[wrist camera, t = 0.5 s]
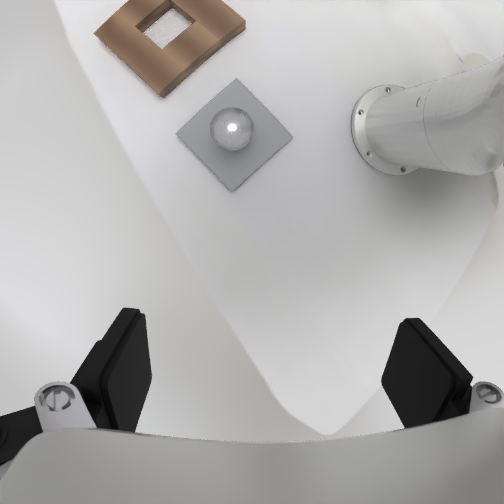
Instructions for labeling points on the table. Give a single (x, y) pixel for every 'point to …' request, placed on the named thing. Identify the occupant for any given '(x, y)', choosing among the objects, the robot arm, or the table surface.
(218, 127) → the peg
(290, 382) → the table surface
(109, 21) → the hole board
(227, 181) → the pad
